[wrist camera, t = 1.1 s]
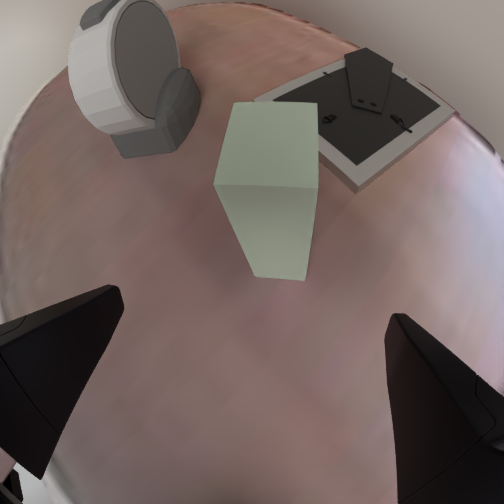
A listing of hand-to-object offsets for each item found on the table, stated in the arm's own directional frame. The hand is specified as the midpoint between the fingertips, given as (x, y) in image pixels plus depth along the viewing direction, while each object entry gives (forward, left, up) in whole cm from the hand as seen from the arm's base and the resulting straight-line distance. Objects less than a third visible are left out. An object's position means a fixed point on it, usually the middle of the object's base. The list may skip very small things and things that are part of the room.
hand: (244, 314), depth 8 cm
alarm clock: (+10, +27, -14) cm, 32 cm away
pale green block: (+6, +4, -13) cm, 15 cm away
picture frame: (+26, +8, -14) cm, 31 cm away
